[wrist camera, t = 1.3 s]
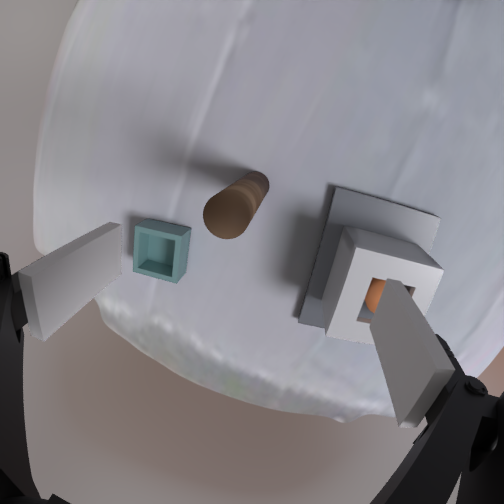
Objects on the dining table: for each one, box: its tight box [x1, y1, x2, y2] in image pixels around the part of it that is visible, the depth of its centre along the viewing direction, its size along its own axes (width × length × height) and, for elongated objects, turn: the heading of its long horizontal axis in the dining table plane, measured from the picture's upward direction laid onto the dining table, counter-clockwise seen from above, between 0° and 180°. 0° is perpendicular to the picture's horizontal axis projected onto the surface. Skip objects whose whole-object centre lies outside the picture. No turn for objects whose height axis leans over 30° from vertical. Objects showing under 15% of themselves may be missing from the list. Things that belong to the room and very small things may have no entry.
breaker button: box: [365, 277, 386, 313], centre depth 32 cm, size 4×4×4 cm
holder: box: [133, 219, 191, 284], centre depth 38 cm, size 6×6×4 cm
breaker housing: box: [298, 186, 444, 345], centre depth 33 cm, size 18×14×9 cm
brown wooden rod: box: [203, 172, 269, 239], centre depth 28 cm, size 3×3×16 cm
